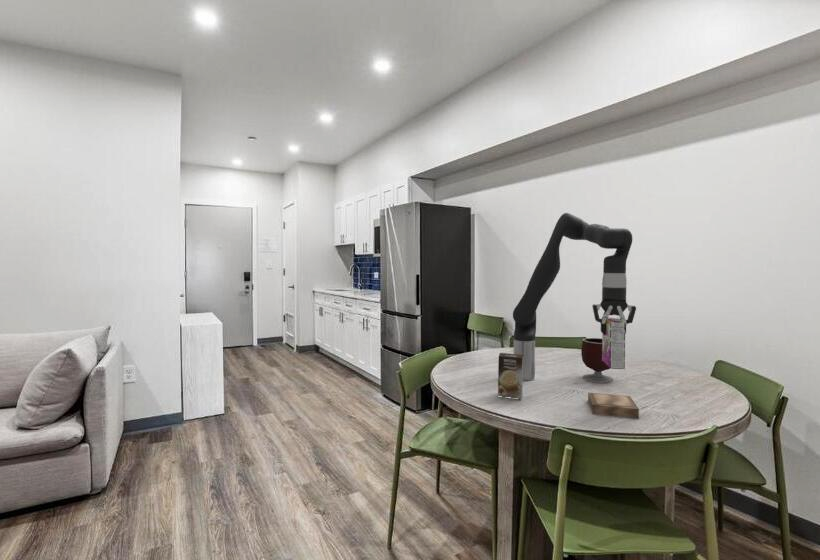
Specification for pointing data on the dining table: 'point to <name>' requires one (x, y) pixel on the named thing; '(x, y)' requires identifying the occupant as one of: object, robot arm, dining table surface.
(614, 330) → the candy bar box
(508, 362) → the coffee box
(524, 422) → the dining table surface
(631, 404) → the walnut board
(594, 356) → the mate gourd
